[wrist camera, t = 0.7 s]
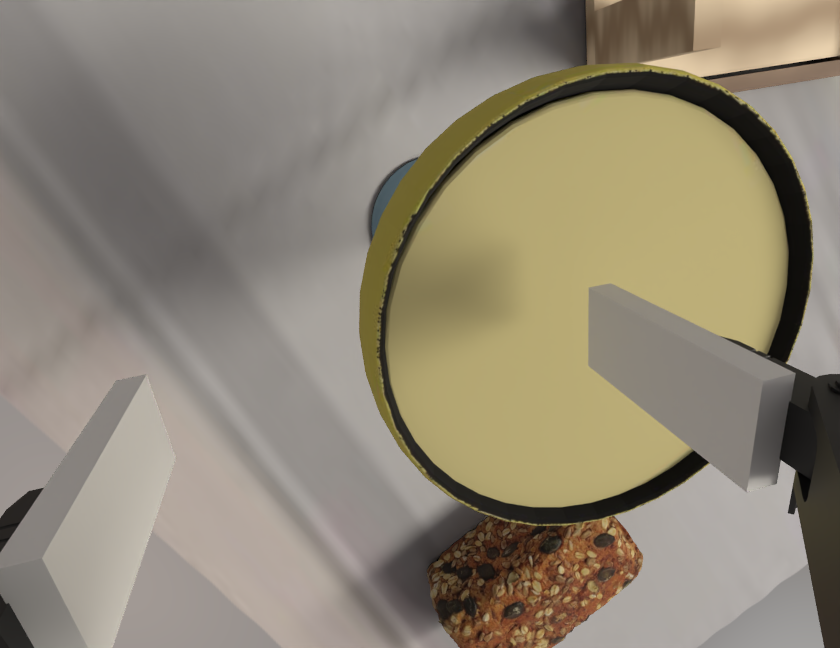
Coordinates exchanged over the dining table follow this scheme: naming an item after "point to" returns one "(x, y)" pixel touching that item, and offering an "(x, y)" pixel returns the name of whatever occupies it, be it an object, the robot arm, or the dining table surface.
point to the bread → (529, 580)
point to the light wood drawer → (711, 33)
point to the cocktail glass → (572, 280)
